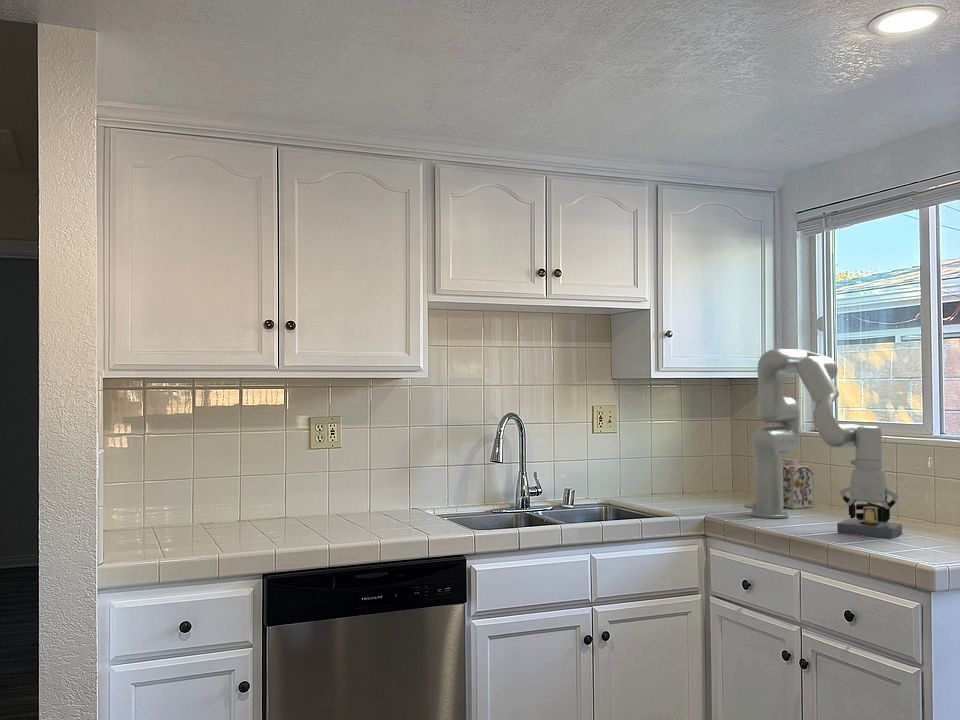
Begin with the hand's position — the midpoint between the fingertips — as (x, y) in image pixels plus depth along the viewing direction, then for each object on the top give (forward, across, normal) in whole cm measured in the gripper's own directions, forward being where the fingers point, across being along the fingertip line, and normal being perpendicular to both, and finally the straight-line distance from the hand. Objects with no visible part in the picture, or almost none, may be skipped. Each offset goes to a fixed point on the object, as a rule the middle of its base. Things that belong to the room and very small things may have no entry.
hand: (869, 519), depth 264 cm
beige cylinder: (+4, 0, 0) cm, 4 cm away
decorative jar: (+5, -39, +43) cm, 58 cm away
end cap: (+5, -4, +19) cm, 20 cm away
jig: (+4, 0, 0) cm, 4 cm away
